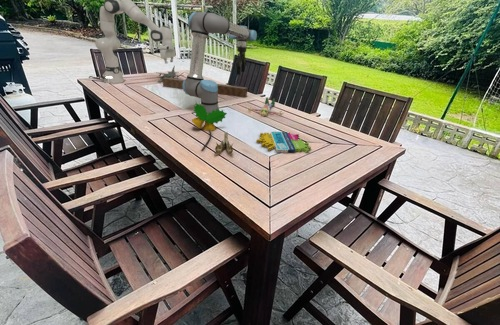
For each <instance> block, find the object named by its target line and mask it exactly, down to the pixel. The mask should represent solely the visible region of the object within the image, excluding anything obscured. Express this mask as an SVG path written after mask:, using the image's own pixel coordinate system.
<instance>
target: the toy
mask: <svg viewBox="0 0 500 325" xmlns="http://www.w3.org/2000/svg"><path fill="white" fill-rule="evenodd" d="M275 105H276V99H275V98H272V100H271V102H270V100H269V97H265V100H264V105H263V106H262V107H261V108H252V107H251V106H249V107H246V109H247V111H249V112H251V111H253V112H259V113H258V115H260V116H262V117H267V116H268V117H269V114H273V115H275V114H276V115H280V116H283V115H284V112H282V110H280V111H279V112H277V111H274V110H271V109H272V107H275ZM268 113H269V114H268Z"/></svg>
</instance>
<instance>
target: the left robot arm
mask: <svg viewBox="0 0 500 325" xmlns="http://www.w3.org/2000/svg"><path fill="white" fill-rule="evenodd" d="M124 13H125V14H126V15H127V16H128V17H129V18H130V19H131V20H132V21H134V22H136V23H137V24H142V25H144V26H146V27H147V28H148V29H150V33H149V35H150V38H151V40H152V41H154V42H157V43H159V42H161V43H162V44H161V45H160V46H159V54H160V58H161V59H163V61H164V64H166V65H167V64H168V61H167V59H170V63H173V62H174V57H176V55H177V54H176V49H175V47H174V43H173V33H172V29H171V27H170V26H167V25H161V26H160V27H159V26H158V25H157V24H156V23H155V22H154V21H153V20H152V19H150V17H148V16H147V15H146V13H144V11H142V10H141V8H140V7H139V6H138V5H137V4H136V3H135V2H133V0H104V2H103V5H101V6H100V8H99V26H100V27H99V28H100V30H101V32H103V34H104V37H100V38H97V39H96V40H95V41H94V42H95V43H94V44H95V47H96V49H97V50H98V51H99V52H100V53H101V55H102V56H103V59H104V64H105V71H104V72H103V73H102V75H100V76H98V77H96V76H92V75H89V76H88V78H89V79H90V78H93V79H96V80H100V79H101V81H102V82H104V83H105V84H121V83H123V82H124V81H126V79H125V78H124V75H123V72H122V71H121V67H120V64H119V59H118V56H116V54H115V53H114V51H115V50H116V51H117V50H119V48H121V46H122V44H121V40H120V39H119V38H118V36H117V34H116V30H115V15H122V14H124Z"/></svg>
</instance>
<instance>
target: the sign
mask: <svg viewBox="0 0 500 325" xmlns="http://www.w3.org/2000/svg"><path fill="white" fill-rule="evenodd" d="M299 136H300V135H299V134H298V133H296V134H294V133H291V132H287V131H270V132H264V133H263V132H260V133H259V139H258V138H257V139H256V143H257V144H261V148H263V147H264V148H265V149H267V151H268V152H271V151H272V150H273V149H275V152H276V153H283V154H285V153H287V154H288V153H290V154H293V153H296V152H298V153H301V152H305V153H310V151H311V150H312V149H311V148H312V146H309V142H304V141H303V139H302V138H299Z"/></svg>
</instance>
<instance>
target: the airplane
mask: <svg viewBox="0 0 500 325" xmlns="http://www.w3.org/2000/svg"><path fill="white" fill-rule="evenodd" d="M157 74H159V75H158V77H160V78H159V79H158V81H157V83H161V82H162V83H163V79H162V78H165V77H167V78H175V79H178V78H179V77H184V76H185V75H184V74H178V71H177V72H175V65H173V67H172V69H171V71H167V73H164V72H157Z"/></svg>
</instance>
